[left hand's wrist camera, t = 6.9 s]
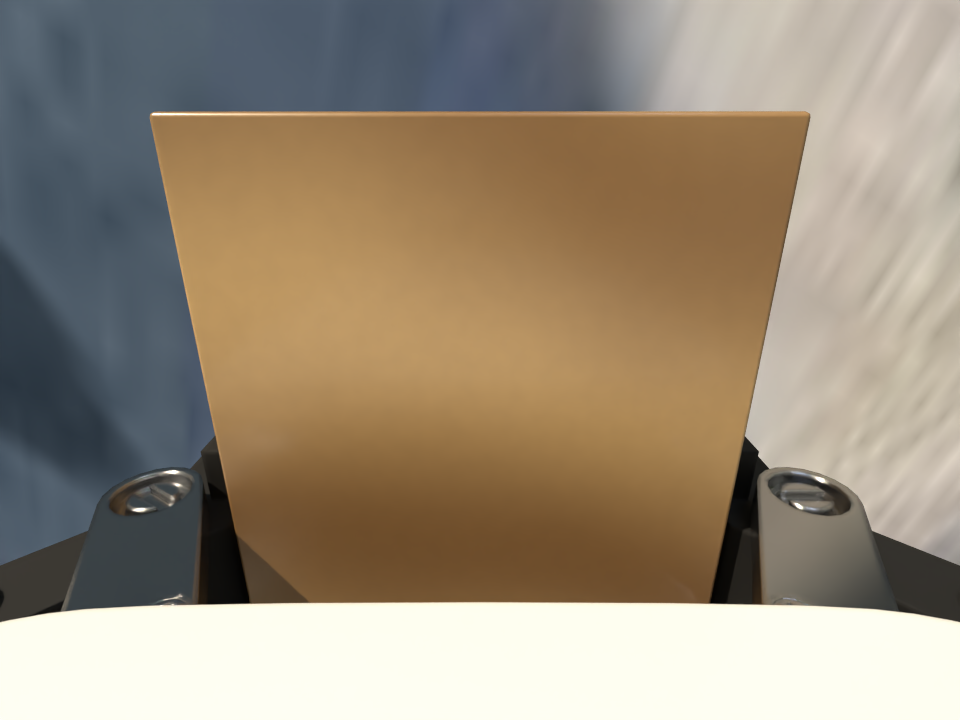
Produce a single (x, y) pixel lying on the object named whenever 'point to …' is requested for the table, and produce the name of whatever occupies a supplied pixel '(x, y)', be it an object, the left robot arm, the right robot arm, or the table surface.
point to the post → (480, 342)
